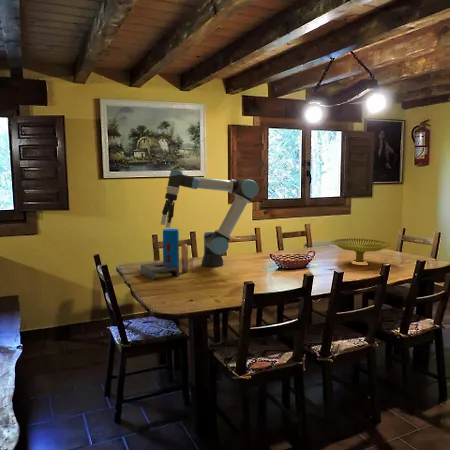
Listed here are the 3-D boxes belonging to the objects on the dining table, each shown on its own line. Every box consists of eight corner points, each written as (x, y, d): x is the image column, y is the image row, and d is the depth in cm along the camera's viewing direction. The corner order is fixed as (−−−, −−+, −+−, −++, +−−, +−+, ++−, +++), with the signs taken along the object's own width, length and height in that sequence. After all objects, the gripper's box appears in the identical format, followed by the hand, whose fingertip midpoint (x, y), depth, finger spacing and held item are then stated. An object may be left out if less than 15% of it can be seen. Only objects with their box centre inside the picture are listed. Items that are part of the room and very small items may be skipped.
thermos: (176, 267, 299) (175, 231, 296) (161, 267, 301) (160, 230, 298) (180, 264, 310) (180, 228, 307) (166, 263, 312) (165, 228, 309)
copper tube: (186, 271, 289) (185, 244, 287) (188, 272, 286) (188, 244, 284) (180, 271, 287) (180, 244, 285) (183, 273, 284) (183, 245, 282)
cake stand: (318, 263, 315) (319, 242, 313) (350, 255, 342) (350, 236, 340) (370, 273, 286) (371, 250, 284) (400, 264, 313) (401, 243, 311)
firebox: (166, 270, 291) (166, 261, 290) (179, 276, 276) (179, 266, 275) (140, 274, 281) (140, 264, 280) (152, 280, 266) (152, 270, 265)
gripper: (161, 191, 292) (155, 222, 294) (170, 193, 269) (163, 227, 270) (172, 193, 295) (166, 224, 296) (182, 196, 272) (175, 230, 273)
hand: (165, 226), depth 283 cm, fingers open, 13 cm apart
